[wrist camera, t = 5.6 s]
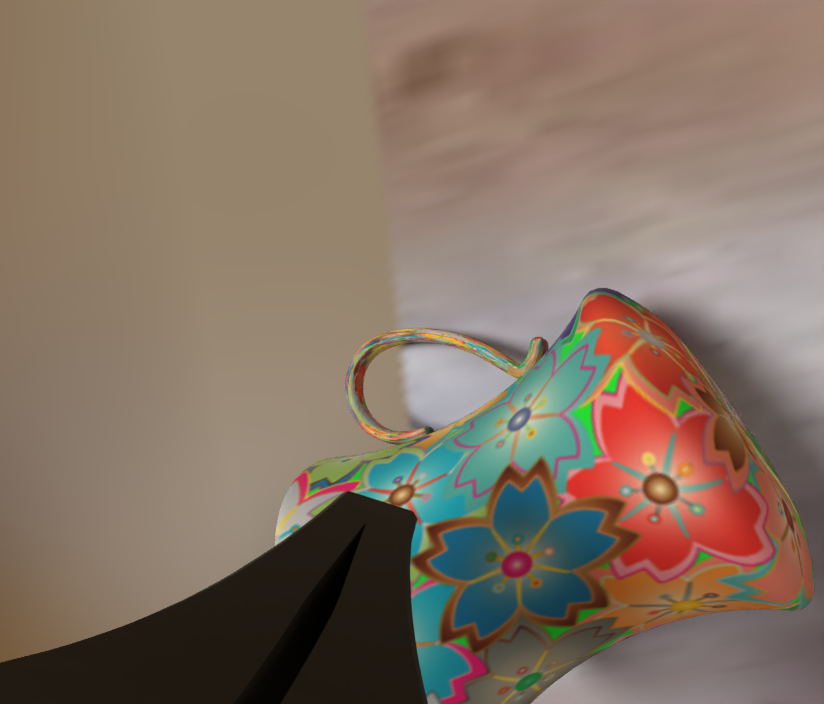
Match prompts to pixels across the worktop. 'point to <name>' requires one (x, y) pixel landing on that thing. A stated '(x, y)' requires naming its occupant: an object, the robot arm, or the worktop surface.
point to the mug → (570, 505)
